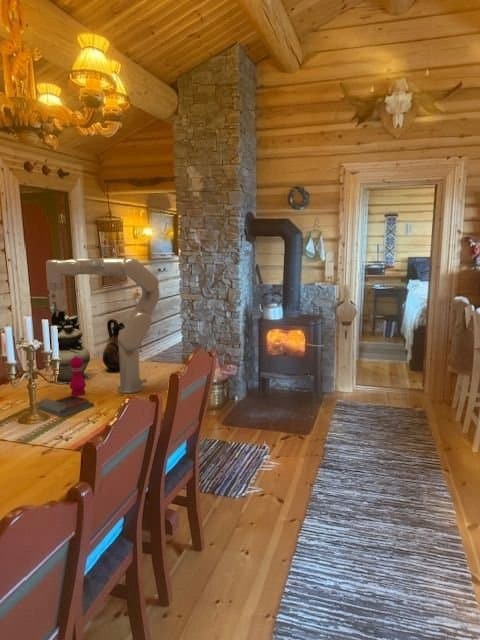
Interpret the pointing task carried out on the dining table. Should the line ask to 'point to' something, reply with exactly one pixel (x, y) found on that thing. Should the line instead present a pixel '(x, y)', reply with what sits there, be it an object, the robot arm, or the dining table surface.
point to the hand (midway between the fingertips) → (58, 323)
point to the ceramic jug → (112, 347)
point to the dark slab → (65, 405)
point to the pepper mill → (77, 376)
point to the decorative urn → (70, 349)
